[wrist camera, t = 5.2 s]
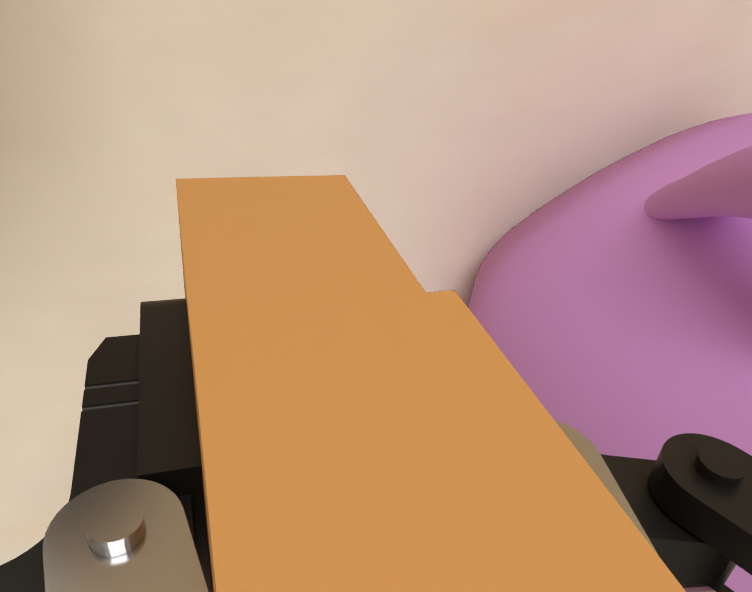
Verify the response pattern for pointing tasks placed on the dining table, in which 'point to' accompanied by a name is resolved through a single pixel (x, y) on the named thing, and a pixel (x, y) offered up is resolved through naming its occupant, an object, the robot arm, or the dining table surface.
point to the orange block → (372, 417)
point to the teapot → (637, 297)
